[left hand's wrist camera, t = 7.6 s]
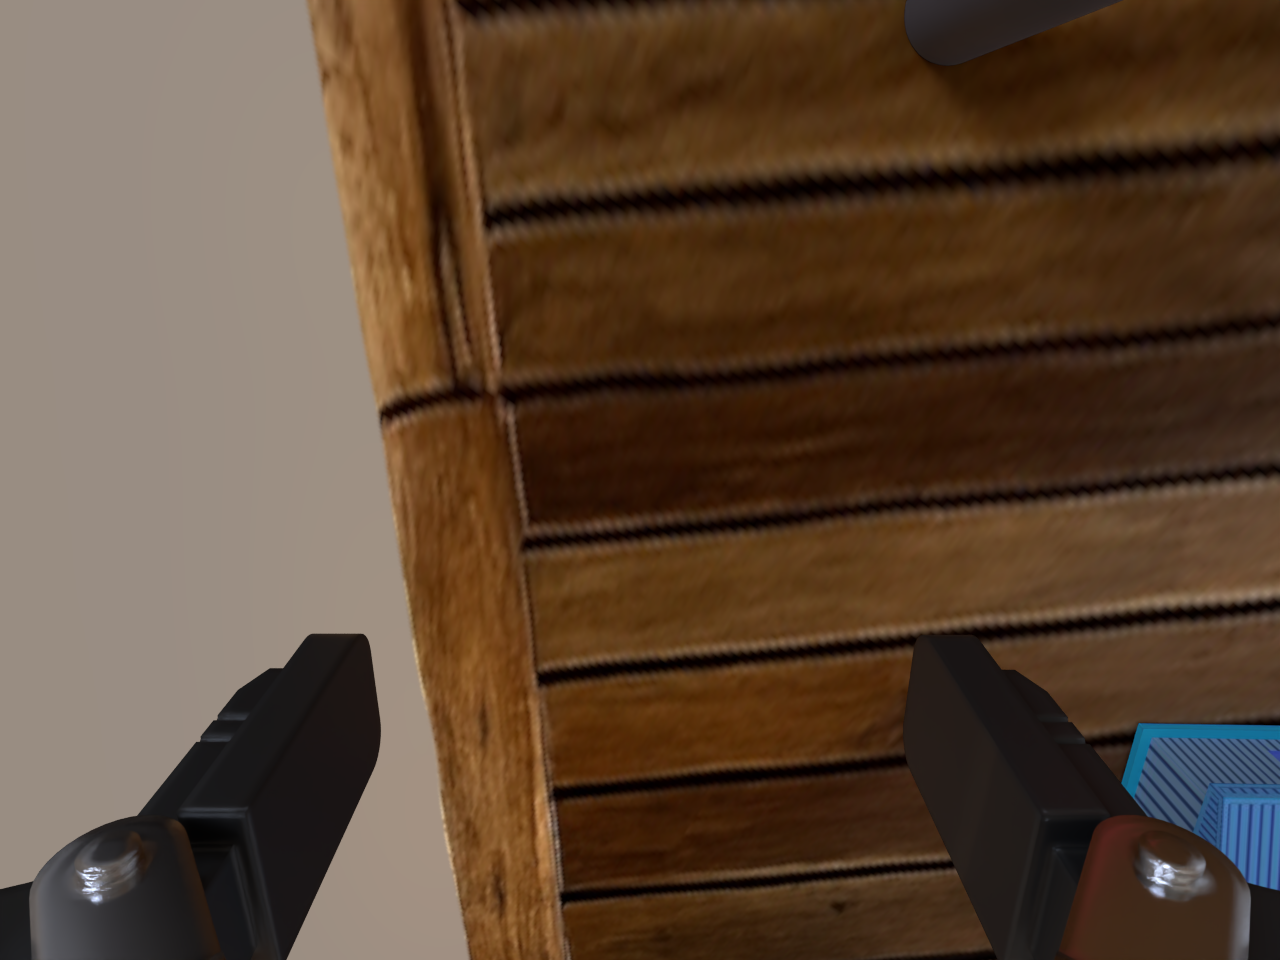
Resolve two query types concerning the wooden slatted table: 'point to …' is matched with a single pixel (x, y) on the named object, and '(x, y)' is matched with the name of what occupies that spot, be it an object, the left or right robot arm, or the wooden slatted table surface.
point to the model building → (1214, 788)
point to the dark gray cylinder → (984, 24)
